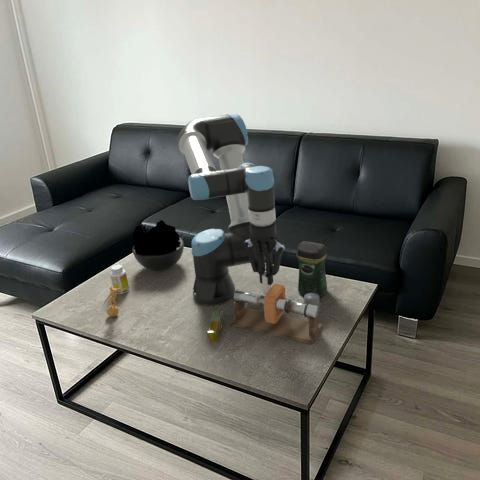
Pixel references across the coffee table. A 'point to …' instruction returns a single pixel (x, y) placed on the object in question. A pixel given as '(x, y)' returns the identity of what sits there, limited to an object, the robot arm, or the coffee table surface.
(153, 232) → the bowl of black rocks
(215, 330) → the medication box
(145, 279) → the coffee table surface
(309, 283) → the coffee jar
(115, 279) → the supplement bottle
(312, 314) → the pipe
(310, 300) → the gray egg
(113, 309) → the figurine
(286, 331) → the stand
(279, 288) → the ring
